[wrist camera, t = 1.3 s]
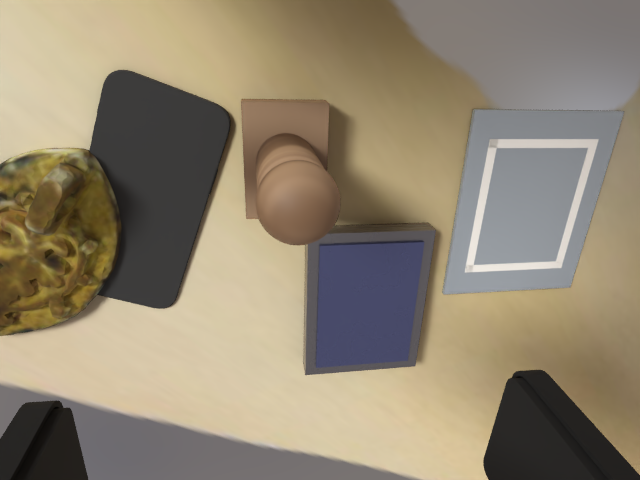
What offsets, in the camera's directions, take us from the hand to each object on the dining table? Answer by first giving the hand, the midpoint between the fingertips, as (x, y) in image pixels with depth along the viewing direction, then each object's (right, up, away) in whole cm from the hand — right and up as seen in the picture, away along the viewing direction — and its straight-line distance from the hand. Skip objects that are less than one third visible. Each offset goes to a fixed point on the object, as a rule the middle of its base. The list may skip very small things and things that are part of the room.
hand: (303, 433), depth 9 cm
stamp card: (+16, +7, +23) cm, 28 cm away
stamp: (-2, +10, +18) cm, 21 cm away
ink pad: (+4, 0, +24) cm, 24 cm away
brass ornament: (-18, +4, +19) cm, 26 cm away
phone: (-11, +7, +19) cm, 23 cm away
